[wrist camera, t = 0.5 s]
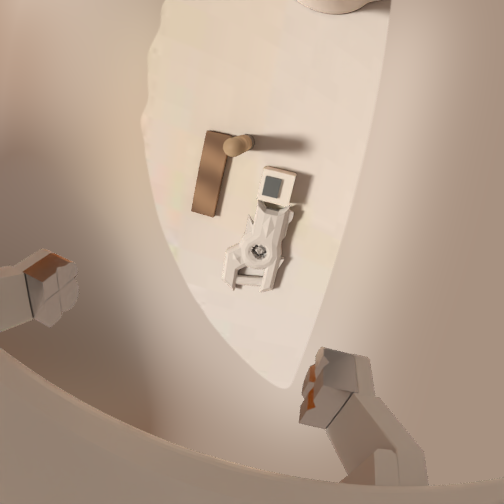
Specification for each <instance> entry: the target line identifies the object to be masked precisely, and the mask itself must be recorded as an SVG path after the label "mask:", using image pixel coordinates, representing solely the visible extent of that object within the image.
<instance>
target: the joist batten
mask: <svg viewBox="0 0 504 504" xmlns="http://www.w3.org/2000/svg"><path fill="white" fill-rule="evenodd" d="M229 138H232V136H231V135H227V134H222V133H218V132H213V131H207V132H206V137H205V141H204V146H203V151H202V156H201V161H200V166H199V171H198V176H197V182H196V187H195V193H194V198H193V204H192V210H191V211H193V212H196V213H200V214H203V215H207V216H210V217H214V216H215V212H216V207H217V202H218V197H219V193H220V188H221V183H222V179H223V174H224V169H225V165H226V160H227V156H228V155H226V154H225V152H224V150H223V144H224V142H225V141H226V140H227V139H229Z"/></svg>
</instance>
